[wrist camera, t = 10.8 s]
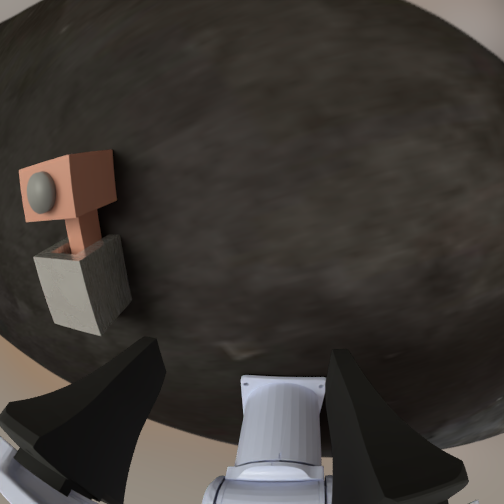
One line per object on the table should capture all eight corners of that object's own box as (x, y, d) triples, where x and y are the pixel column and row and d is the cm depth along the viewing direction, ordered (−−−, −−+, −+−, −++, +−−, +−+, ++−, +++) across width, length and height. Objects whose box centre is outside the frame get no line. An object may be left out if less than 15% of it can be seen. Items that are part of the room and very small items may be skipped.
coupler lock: (132, 300, 22) (101, 336, 17) (87, 293, 23) (54, 323, 18) (120, 234, 20) (79, 261, 15) (74, 234, 21) (33, 256, 16)
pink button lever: (138, 312, 23) (108, 351, 18) (89, 305, 23) (57, 337, 18) (112, 149, 18) (62, 155, 12) (60, 161, 18) (13, 171, 13)
